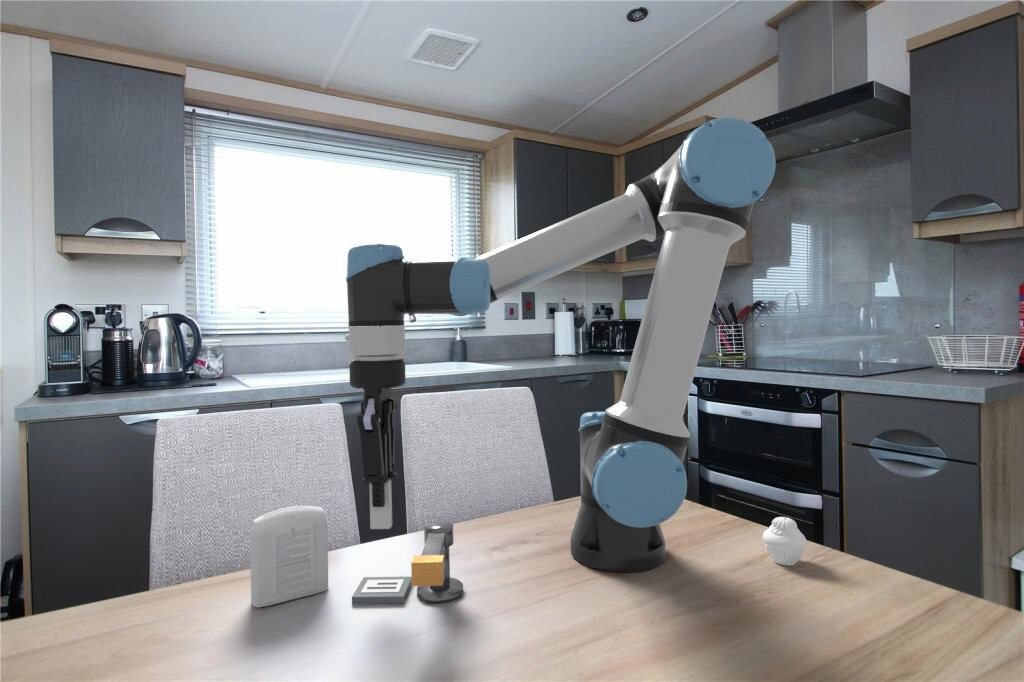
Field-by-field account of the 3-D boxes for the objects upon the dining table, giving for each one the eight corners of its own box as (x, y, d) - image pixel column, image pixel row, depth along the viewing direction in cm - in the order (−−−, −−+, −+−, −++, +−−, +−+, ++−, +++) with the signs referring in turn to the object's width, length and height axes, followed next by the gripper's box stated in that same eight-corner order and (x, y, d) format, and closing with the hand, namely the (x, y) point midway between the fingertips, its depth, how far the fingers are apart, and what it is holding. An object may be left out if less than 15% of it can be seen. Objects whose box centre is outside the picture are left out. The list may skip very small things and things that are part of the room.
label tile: (412, 583, 83) (411, 575, 83) (403, 603, 77) (403, 595, 77) (363, 583, 83) (363, 576, 83) (351, 604, 77) (351, 595, 77)
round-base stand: (465, 582, 83) (464, 537, 83) (460, 603, 77) (459, 555, 77) (421, 582, 83) (420, 537, 83) (413, 604, 77) (412, 555, 77)
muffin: (793, 552, 92) (793, 509, 91) (815, 569, 85) (815, 523, 85) (755, 554, 91) (755, 510, 91) (774, 570, 85) (774, 524, 85)
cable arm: (426, 539, 82) (426, 520, 82) (454, 538, 82) (454, 519, 82) (410, 586, 67) (409, 562, 67) (444, 585, 67) (443, 562, 67)
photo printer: (324, 580, 85) (322, 497, 84) (332, 591, 81) (330, 505, 81) (248, 599, 79) (245, 511, 79) (254, 612, 75) (251, 519, 75)
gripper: (363, 355, 86) (366, 511, 86) (335, 361, 73) (340, 545, 73) (413, 354, 85) (416, 511, 86) (394, 360, 72) (398, 544, 73)
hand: (381, 526), depth 80 cm, fingers closed
